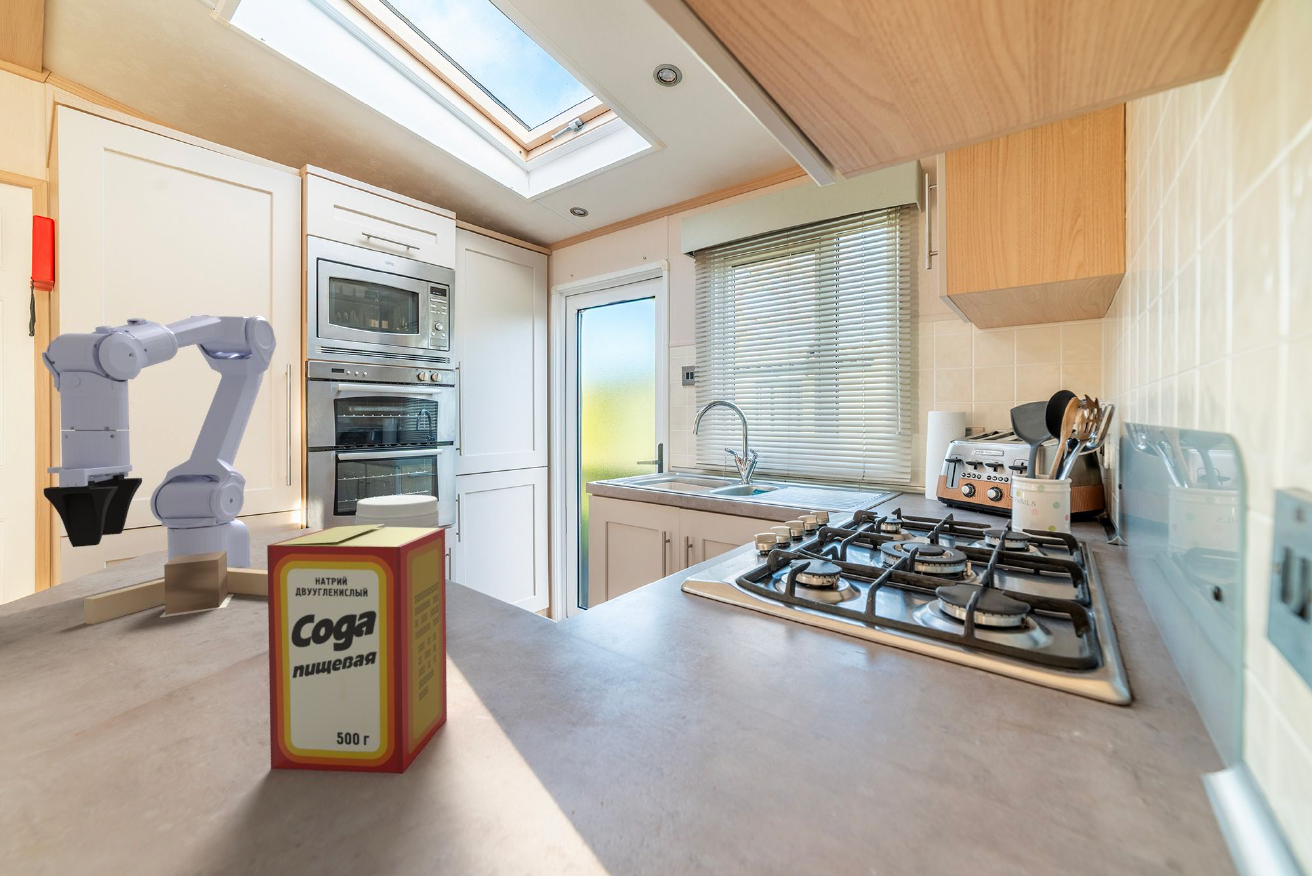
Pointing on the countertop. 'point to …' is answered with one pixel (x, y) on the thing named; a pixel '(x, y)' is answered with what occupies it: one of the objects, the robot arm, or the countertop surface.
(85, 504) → the robot arm
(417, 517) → the supplement tub
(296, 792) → the countertop surface
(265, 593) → the corner board
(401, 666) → the baking soda box
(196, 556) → the walnut block
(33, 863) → the countertop surface
